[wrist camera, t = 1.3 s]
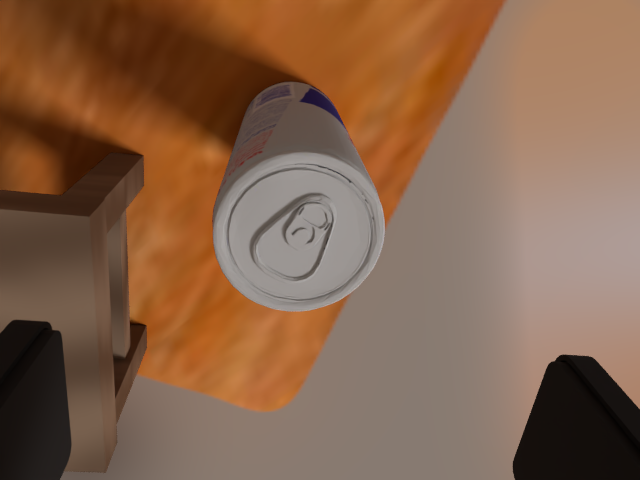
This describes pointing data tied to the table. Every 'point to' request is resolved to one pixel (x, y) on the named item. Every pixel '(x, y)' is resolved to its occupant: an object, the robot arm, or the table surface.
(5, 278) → the stool
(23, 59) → the table surface
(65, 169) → the table surface
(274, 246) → the beverage can
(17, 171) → the table surface
